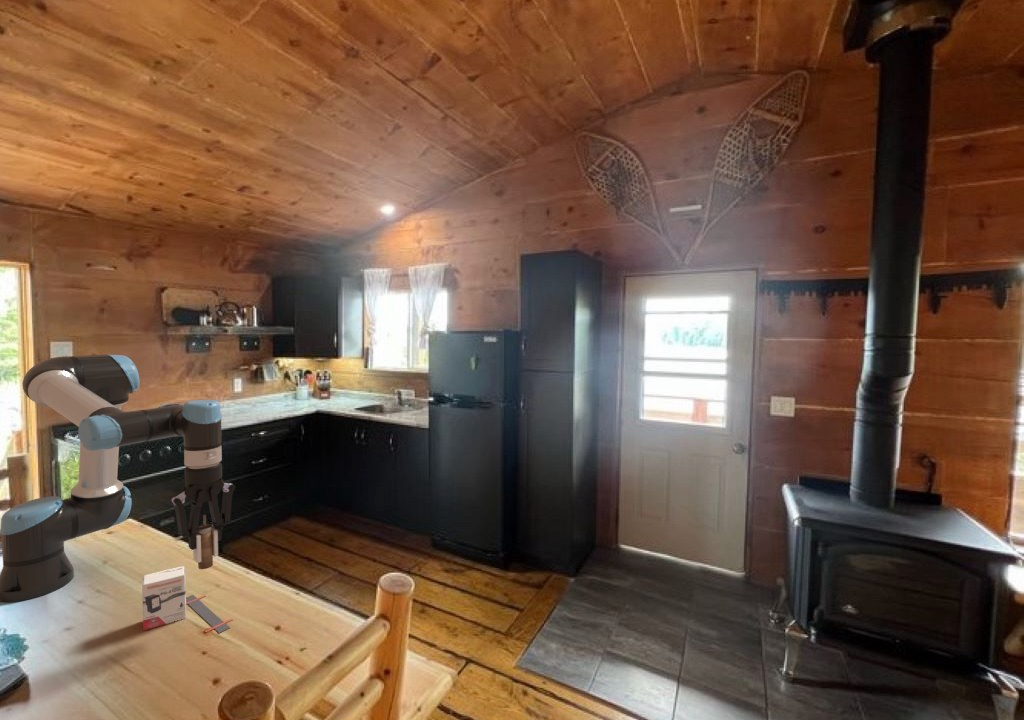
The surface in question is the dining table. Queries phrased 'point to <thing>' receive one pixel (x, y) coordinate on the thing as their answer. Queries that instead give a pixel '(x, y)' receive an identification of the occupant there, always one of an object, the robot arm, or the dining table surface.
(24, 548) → the robot arm
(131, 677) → the dining table surface
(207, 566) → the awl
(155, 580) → the ink box
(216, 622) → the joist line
